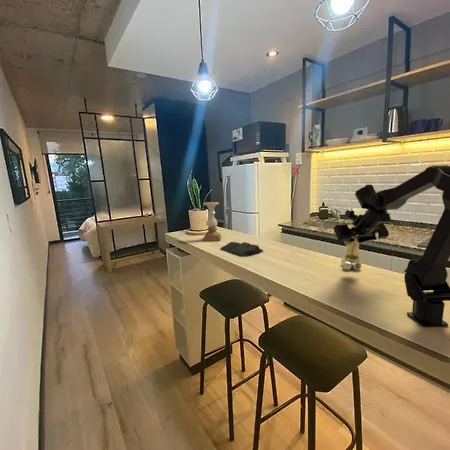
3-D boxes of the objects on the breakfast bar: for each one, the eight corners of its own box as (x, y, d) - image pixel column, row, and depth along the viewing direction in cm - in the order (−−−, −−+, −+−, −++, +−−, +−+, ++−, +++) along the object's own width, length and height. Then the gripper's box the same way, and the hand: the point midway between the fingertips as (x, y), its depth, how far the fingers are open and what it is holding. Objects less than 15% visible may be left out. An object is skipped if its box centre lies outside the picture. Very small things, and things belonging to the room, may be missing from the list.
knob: (360, 263, 99) (362, 229, 97) (345, 262, 101) (346, 228, 99) (358, 259, 104) (360, 226, 102) (344, 258, 106) (345, 226, 104)
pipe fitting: (347, 273, 108) (361, 269, 109) (347, 263, 107) (361, 260, 108) (334, 266, 115) (347, 264, 117) (334, 258, 114) (347, 255, 116)
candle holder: (220, 241, 166) (218, 203, 162) (202, 241, 167) (201, 203, 163) (221, 237, 177) (220, 201, 173) (205, 237, 178) (203, 202, 174)
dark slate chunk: (238, 245, 156) (238, 237, 156) (265, 252, 139) (265, 244, 139) (217, 250, 147) (217, 241, 146) (244, 258, 130) (244, 249, 129)
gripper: (385, 200, 96) (364, 225, 109) (337, 202, 94) (321, 227, 106) (400, 225, 89) (376, 248, 102) (349, 228, 87) (330, 251, 100)
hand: (350, 243), depth 103 cm, fingers closed on knob, 4 cm apart
